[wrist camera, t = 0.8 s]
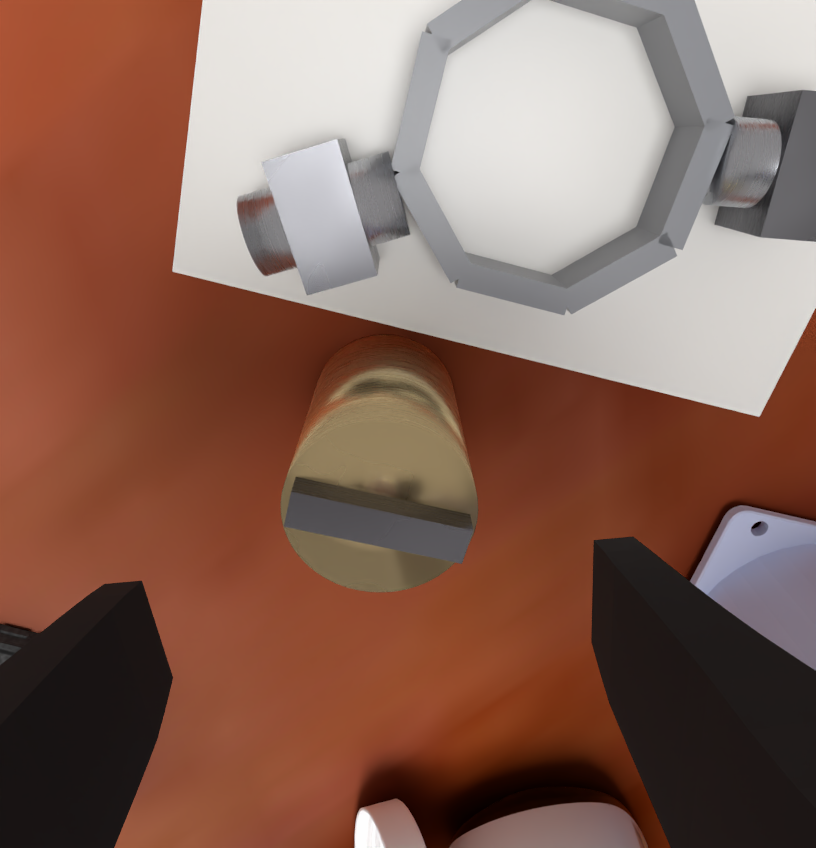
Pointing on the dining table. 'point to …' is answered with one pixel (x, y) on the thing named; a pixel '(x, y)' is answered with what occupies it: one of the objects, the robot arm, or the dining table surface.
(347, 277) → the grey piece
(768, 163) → the steel shaft
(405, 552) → the cylinder
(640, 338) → the base plate
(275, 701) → the dining table surface
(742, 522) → the robot arm
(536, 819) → the spread jar
